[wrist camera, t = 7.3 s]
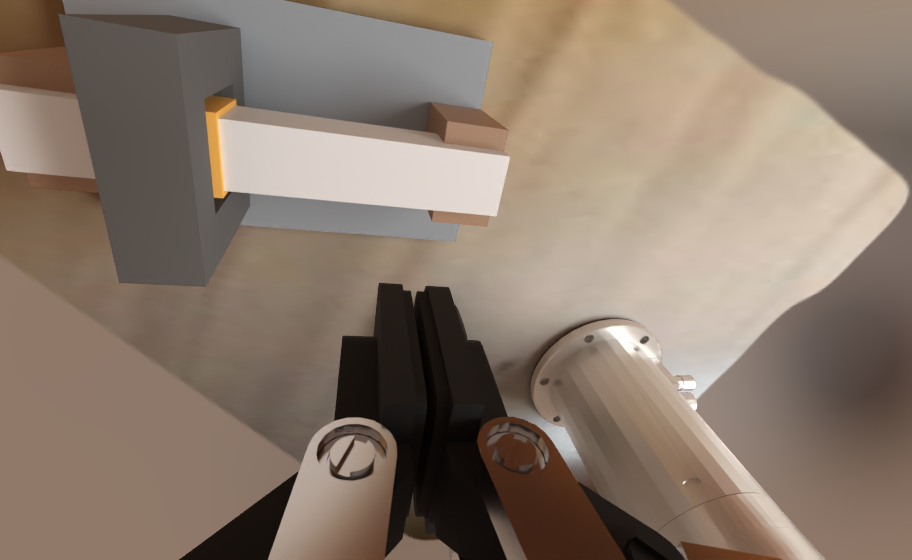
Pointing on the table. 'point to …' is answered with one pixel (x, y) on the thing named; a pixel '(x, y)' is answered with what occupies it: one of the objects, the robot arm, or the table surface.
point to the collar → (156, 138)
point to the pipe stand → (300, 120)
